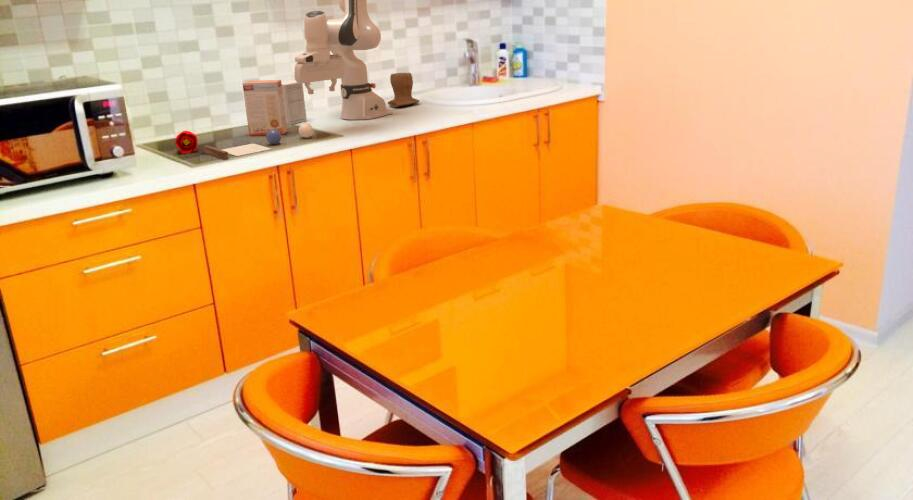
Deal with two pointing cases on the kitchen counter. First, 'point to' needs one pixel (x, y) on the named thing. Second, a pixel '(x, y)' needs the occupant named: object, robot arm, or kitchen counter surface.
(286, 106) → the supplement box
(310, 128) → the cue ball
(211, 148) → the rail
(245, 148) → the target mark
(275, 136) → the navy ball
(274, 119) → the cracker box
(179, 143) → the flower
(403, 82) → the brown flared piece
